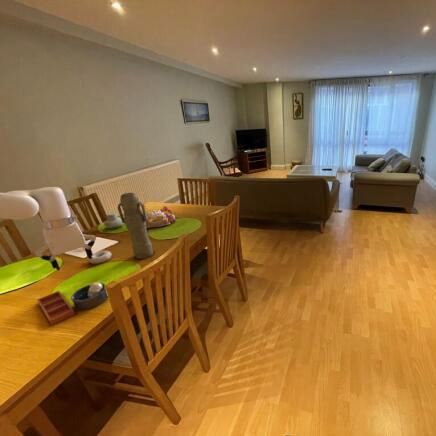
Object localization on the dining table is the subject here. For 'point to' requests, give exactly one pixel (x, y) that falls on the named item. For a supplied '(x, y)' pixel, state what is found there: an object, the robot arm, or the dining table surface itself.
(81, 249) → the teacup and saucer
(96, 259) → the donut
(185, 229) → the dining table surface
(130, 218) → the grey tall piece
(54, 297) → the brown compartment tray
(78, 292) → the bowl
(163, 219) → the candy landscape model
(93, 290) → the egg
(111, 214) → the air freshener
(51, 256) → the robot arm
